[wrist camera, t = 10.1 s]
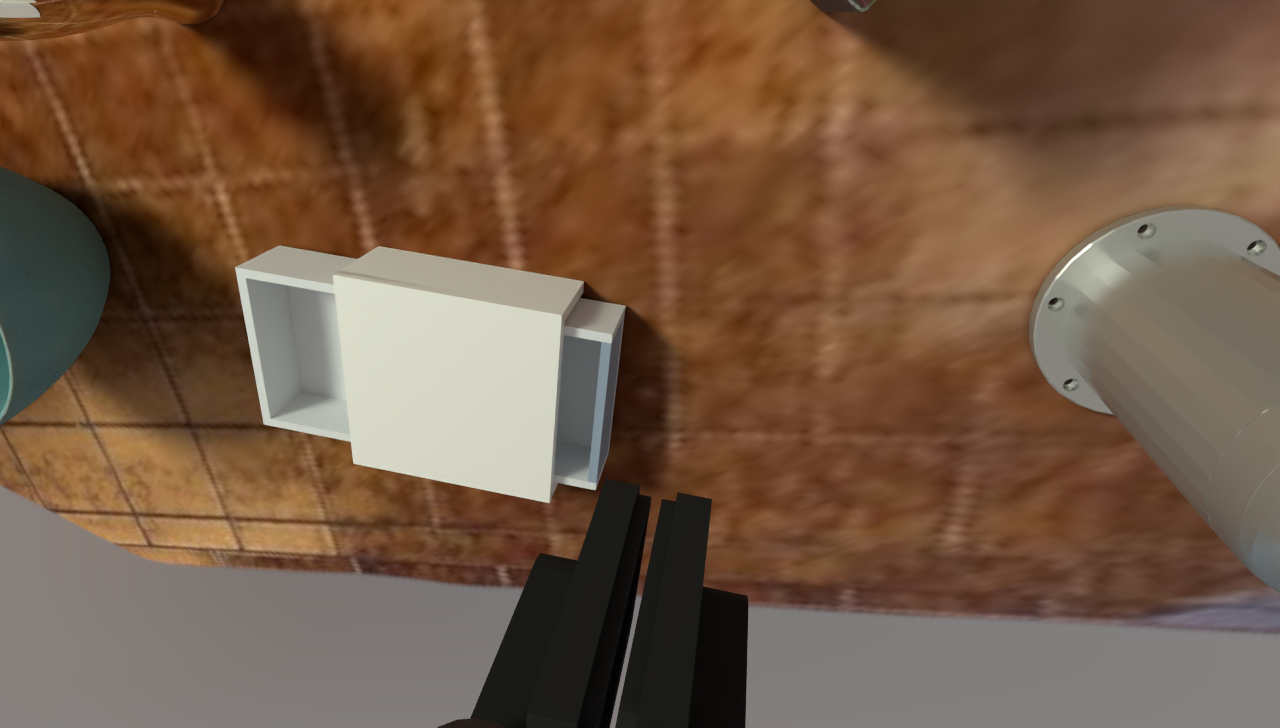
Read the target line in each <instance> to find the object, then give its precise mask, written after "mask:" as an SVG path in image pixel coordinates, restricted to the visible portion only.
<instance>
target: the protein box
mask: <svg viewBox="0 0 1280 728" xmlns="http://www.w3.org/2000/svg"><path fill="white" fill-rule="evenodd" d="M810 1H811V2H812V3H814V4H815V5H816V6H817V7H818V8H819V9H820V10H821V11H822V12H864V11H867V10H868V9H869V8H870V7H871V5H872V4H873V3H874V2H875V1H876V0H810Z"/></svg>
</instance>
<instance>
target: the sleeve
mask: <svg viewBox="0 0 1280 728" xmlns="http://www.w3.org/2000/svg"><path fill="white" fill-rule="evenodd" d="M333 282H334V291H335V300H336V310H337V319H338V328H339V337H340V346H341V355H342V364H343V373H344V382H345V392H346V401H347V410H348V419H349V428H350V437H351V446H352V455H353V464H358V465H363V466H368V467H373V468H378V469H383V470H388V471H393V472H398V473H403V474H408V475H413V476H418V477H423V478H428V479H433V480H438V481H443V482H447V483H452V484H457V485H462V486H467V487H472V488H477V489H482V490H487V491H492V492H497V493H502V494H507V495H512V496H517V497H522V498H527V499H532V500H537V501H542V502H547V503H550V500H551V498H552V496H553V494H554V491H555V489H556V487H557V484H558V483H556V482H554V468H555V453H556V439H557V424H558V410H559V395H560V381H561V366H562V352H563V337H564V323H565V321H566V319H567V317H568V316H569V314H570V313H571V311H572V310H573V308H574V306H575V305H576V303H577V302H578V300H579V299H580V297H581V295H582V294H583V288H584V281H579V280H573V279H567V278H561V277H555V276H549V275H544V274H538V273H532V272H526V271H520V270H515V269H509V268H503V267H497V266H491V265H485V264H480V263H474V262H468V261H462V260H456V259H450V258H445V257H439V256H433V255H427V254H421V253H416V252H410V251H404V250H398V249H392V248H386V247H381V246H378V247H377V248H375V249H373V250H372V251H370V252H369V253H367V254H365V255H364V256H362V257H361V258H359V259H357V260H356V261H354V262H353V263H351V264H349V265H348V266H346V267H344V268H343V269H341V270H340V271H338V272H336V273H335V274H333Z"/></svg>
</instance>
